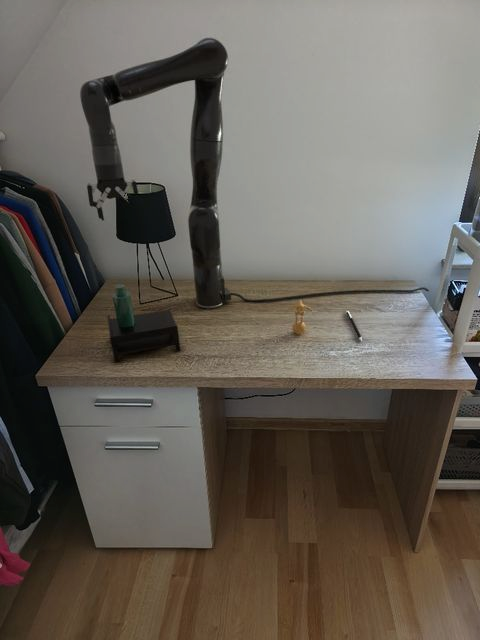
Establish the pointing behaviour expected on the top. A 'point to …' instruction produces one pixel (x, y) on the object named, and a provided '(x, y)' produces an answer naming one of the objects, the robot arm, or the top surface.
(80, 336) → the top surface
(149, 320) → the black rectangular case
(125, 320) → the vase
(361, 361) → the top surface
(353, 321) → the pen
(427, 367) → the top surface
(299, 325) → the figurine
